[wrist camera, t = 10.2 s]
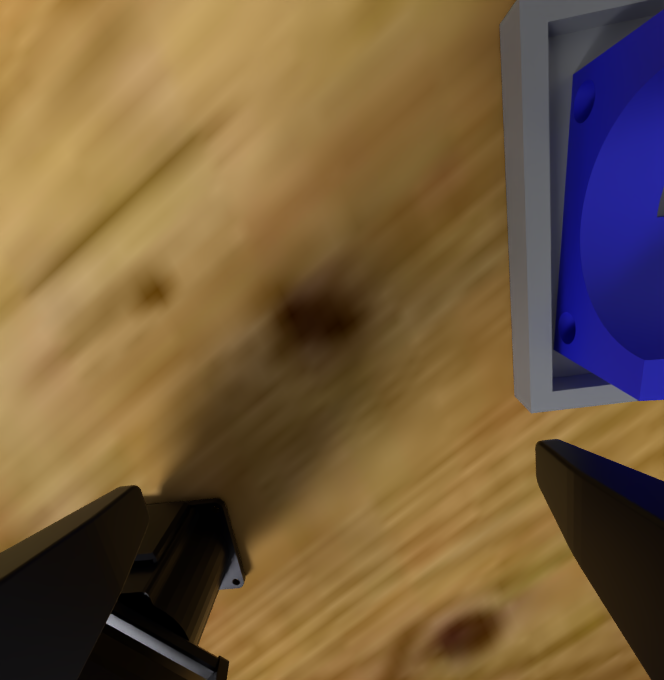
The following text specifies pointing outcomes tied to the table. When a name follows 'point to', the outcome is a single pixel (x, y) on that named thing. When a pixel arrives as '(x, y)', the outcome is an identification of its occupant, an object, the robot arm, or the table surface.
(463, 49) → the table surface
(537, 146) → the tray
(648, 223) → the blue curved cradle
